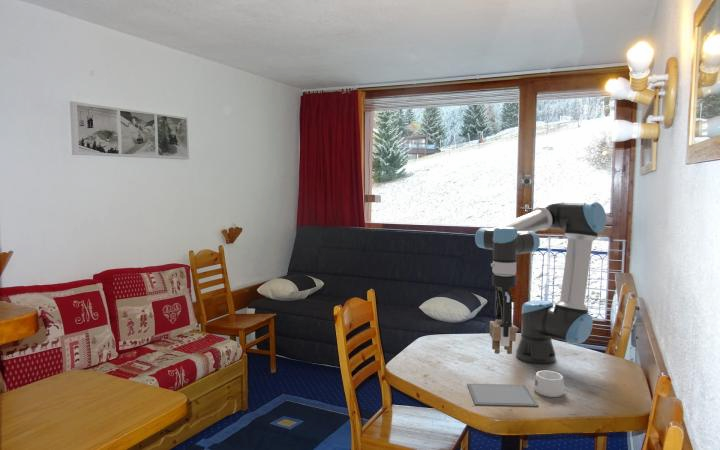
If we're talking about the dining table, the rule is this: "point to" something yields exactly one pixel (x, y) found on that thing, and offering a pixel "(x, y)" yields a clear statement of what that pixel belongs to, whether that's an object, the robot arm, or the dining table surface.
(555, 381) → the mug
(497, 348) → the small wooden stool
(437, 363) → the dining table surface
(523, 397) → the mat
